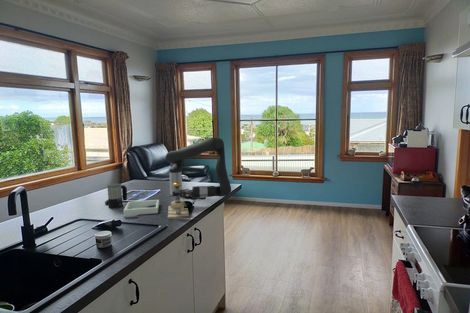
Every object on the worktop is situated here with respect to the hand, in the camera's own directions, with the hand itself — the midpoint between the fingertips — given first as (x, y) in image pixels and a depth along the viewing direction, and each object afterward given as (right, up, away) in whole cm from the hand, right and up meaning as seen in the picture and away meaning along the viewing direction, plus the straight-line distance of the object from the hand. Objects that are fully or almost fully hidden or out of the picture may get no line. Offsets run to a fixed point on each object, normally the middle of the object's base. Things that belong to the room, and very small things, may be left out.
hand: (172, 193), depth 197 cm
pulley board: (+4, -11, -6) cm, 13 cm away
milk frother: (-43, -10, +13) cm, 46 cm away
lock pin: (+3, -9, +2) cm, 9 cm away
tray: (-18, -11, -2) cm, 21 cm away
